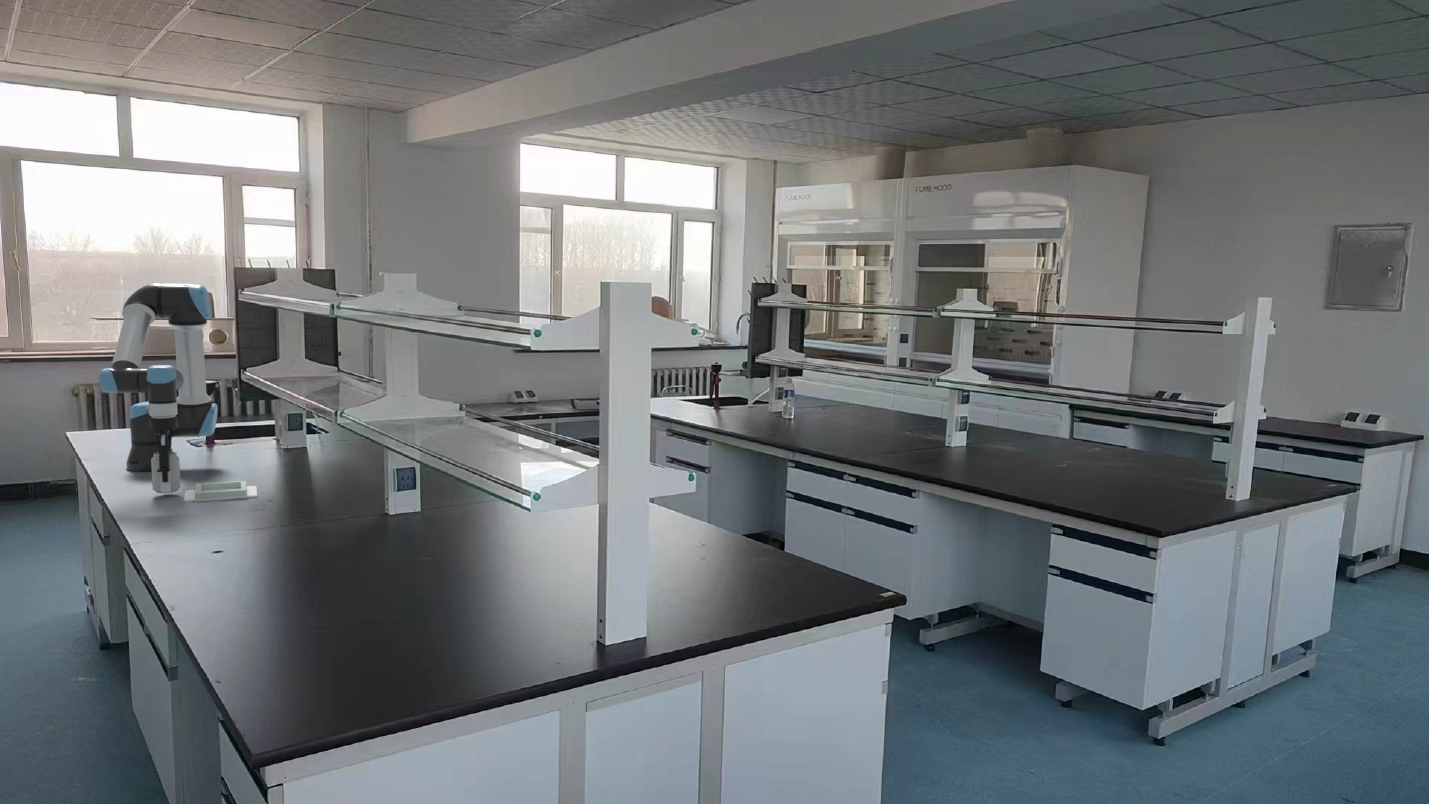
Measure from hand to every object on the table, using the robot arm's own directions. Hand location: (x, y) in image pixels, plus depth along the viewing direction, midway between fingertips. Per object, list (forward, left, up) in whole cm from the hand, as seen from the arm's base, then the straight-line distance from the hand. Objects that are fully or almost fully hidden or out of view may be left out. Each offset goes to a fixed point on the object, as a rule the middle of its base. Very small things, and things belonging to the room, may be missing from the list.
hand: (166, 488), depth 289 cm
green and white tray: (+3, +15, -2) cm, 16 cm away
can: (0, 0, -1) cm, 1 cm away
